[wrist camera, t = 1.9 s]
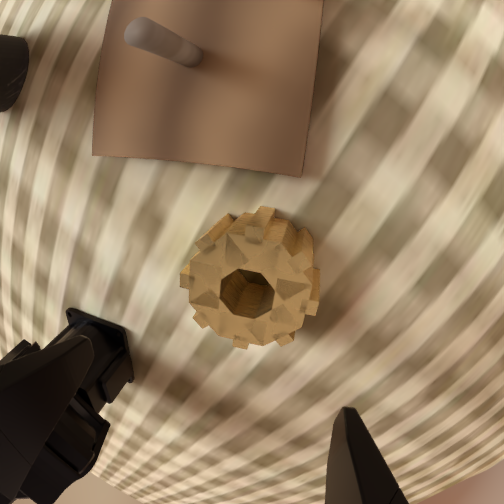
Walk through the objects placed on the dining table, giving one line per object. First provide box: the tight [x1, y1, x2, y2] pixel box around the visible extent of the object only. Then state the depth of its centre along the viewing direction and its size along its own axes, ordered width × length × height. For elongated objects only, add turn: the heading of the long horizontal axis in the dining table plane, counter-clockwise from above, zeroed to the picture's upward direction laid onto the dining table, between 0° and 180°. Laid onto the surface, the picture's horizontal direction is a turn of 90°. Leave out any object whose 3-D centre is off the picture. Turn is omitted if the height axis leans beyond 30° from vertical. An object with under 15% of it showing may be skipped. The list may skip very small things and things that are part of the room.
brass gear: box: [180, 206, 320, 349], centre depth 16 cm, size 7×7×4 cm
